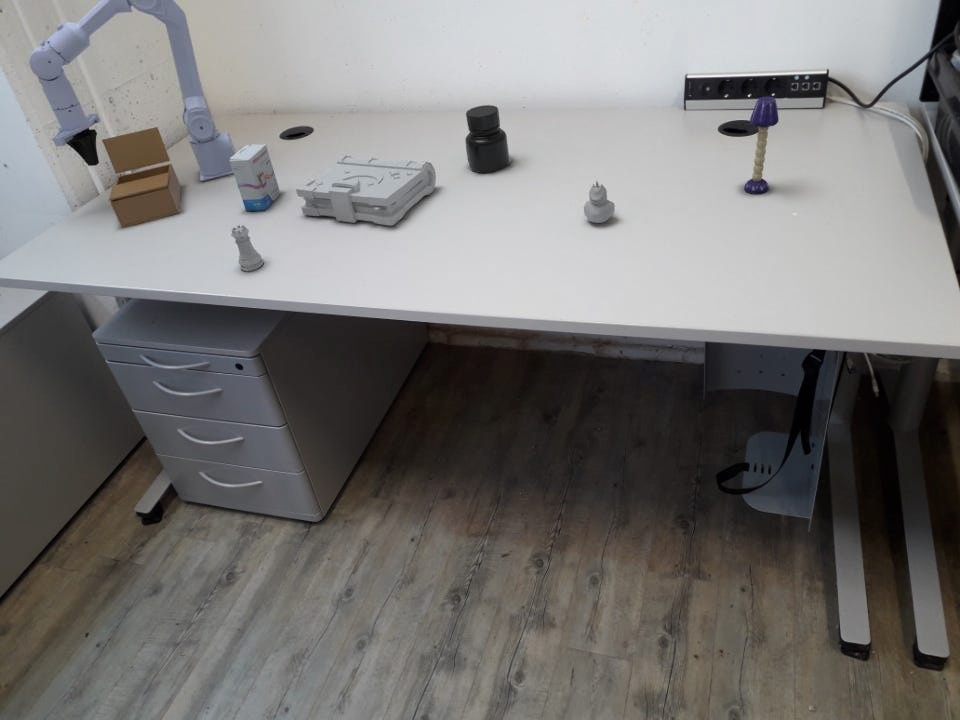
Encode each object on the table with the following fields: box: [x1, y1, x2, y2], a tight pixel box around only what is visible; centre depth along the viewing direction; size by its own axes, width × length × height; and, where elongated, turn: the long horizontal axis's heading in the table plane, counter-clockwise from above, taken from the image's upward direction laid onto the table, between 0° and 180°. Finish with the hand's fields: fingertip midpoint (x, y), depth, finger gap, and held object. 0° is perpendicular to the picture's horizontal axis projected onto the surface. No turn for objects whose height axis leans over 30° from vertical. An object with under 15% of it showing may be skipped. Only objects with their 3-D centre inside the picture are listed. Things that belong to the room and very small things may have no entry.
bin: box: [108, 163, 182, 228], centre depth 171 cm, size 16×12×7 cm
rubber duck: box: [583, 180, 616, 224], centre depth 135 cm, size 5×7×8 cm
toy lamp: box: [743, 96, 780, 195], centre depth 133 cm, size 5×5×17 cm
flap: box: [101, 126, 171, 175], centre depth 174 cm, size 8×12×1 cm
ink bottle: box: [464, 104, 510, 174], centre depth 161 cm, size 10×9×12 cm
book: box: [295, 154, 437, 227], centre depth 156 cm, size 19×28×8 cm
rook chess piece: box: [231, 224, 264, 272], centre depth 140 cm, size 4×4×8 cm
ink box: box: [230, 144, 281, 212], centre depth 162 cm, size 9×5×12 cm, turn 168°
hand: (93, 164), depth 173 cm, fingers closed
